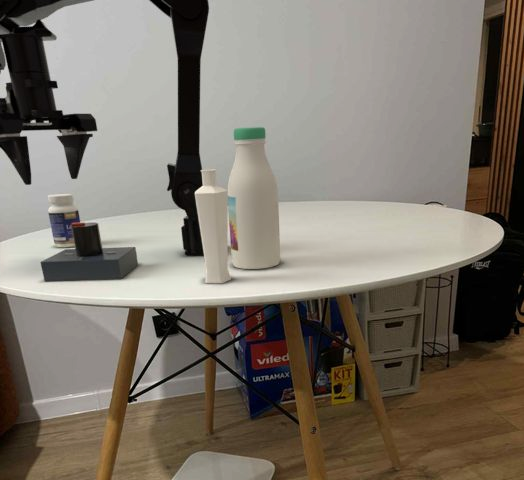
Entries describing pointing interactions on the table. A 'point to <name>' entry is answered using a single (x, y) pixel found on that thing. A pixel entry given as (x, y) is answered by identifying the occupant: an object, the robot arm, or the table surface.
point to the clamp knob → (87, 239)
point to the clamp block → (89, 265)
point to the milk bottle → (253, 203)
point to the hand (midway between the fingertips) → (52, 181)
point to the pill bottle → (62, 219)
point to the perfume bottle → (213, 227)
